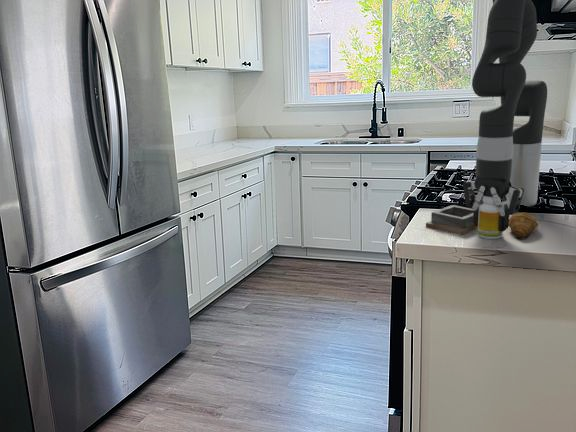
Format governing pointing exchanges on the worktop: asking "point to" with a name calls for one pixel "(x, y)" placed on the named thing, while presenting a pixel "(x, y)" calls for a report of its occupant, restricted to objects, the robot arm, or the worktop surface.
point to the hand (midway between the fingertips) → (490, 227)
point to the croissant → (522, 225)
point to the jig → (453, 220)
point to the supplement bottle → (488, 219)
